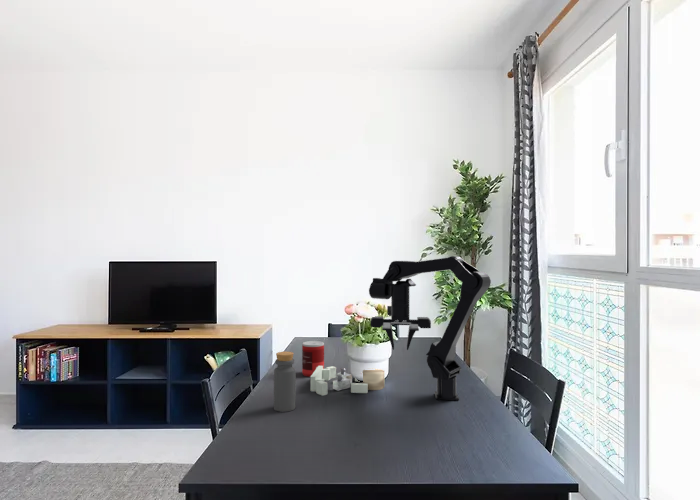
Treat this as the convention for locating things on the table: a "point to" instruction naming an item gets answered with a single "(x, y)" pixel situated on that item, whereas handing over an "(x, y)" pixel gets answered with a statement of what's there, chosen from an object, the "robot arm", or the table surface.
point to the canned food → (312, 356)
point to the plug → (374, 379)
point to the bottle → (284, 382)
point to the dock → (326, 375)
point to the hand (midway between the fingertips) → (400, 349)
